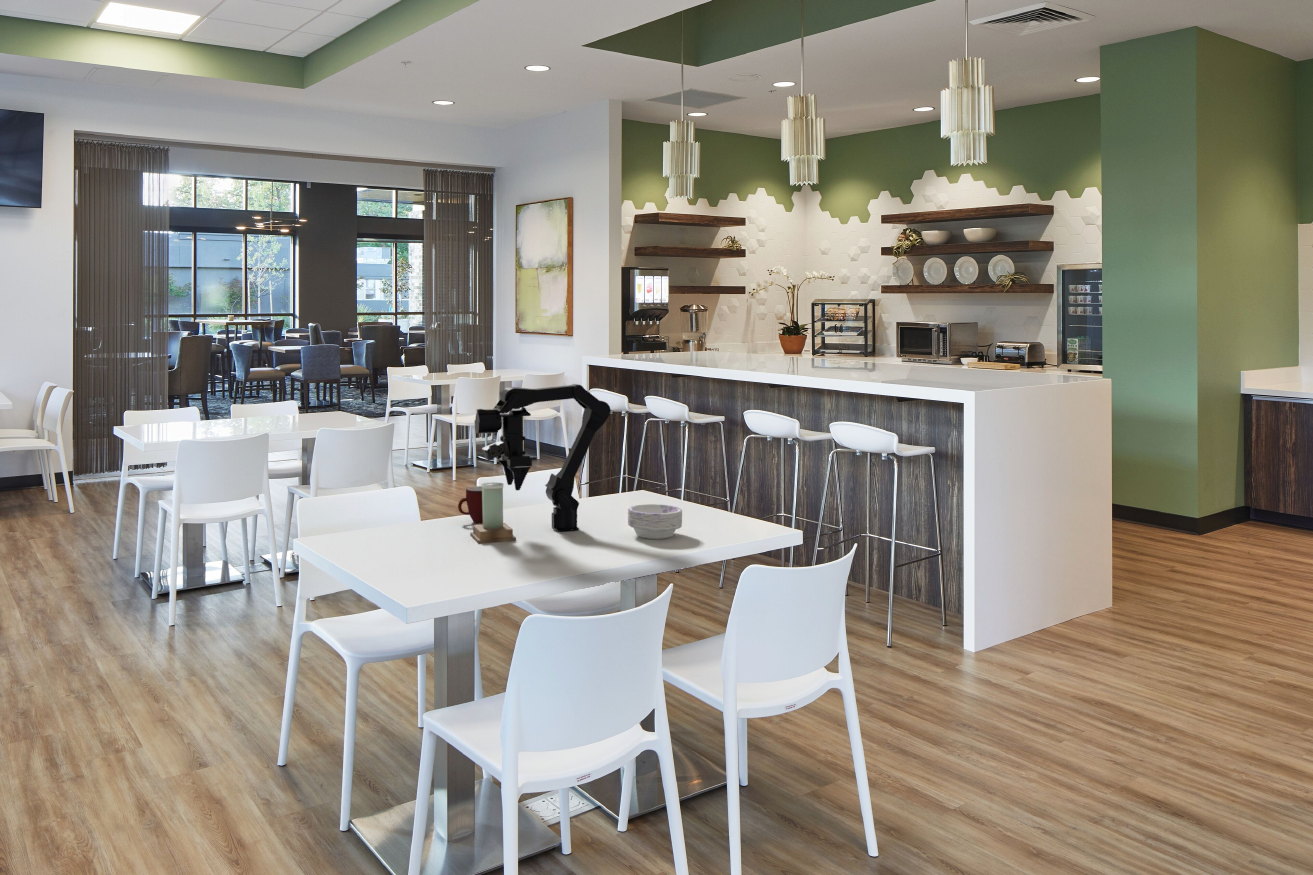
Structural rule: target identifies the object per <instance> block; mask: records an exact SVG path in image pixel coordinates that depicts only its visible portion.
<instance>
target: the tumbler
mask: <svg viewBox="0 0 1313 875" xmlns="http://www.w3.org/2000/svg"><path fill="white" fill-rule="evenodd" d="M480 486H481V488H482V510H483V523H482V524H483V528H484V529H500V528H503V523H504V483H503V482H497V481H496V482H495V481H494V482H483V483H481V485H480Z"/></svg>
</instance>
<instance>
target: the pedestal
mask: <svg viewBox="0 0 1313 875" xmlns="http://www.w3.org/2000/svg"><path fill="white" fill-rule="evenodd" d="M472 528H473V529H472V531H471V532H470V537H471V538H472V539H473V540H474V541H475V542H476V543H477V544H487V543H489V544H490V543H501V542H513V541H517V537H516V536H515V535H514V532H513V531H514V529H513V528H512V527H511V526H510V525H508V524H507V522H503V528H500V529H484V528H483V523H481V524H473V525H472Z"/></svg>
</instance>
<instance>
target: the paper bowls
mask: <svg viewBox="0 0 1313 875" xmlns="http://www.w3.org/2000/svg"><path fill="white" fill-rule="evenodd" d="M627 525H628V526H629V527H630V528H633V529H634V532H635V535H637V536H638V537H639V538H643V539H646V538H647V539H648V540H665V539H669V538H671V537H673V536H674V534H675V533H676V530H678V529H681V528H682V526H683V509H682V508H681V507H679V506H674V505H671V504H661V503H660V504H659V503H658V504H657V503H656V504H655V503H647V504H646V503H644V504H642V503H641V504H636V505H635V504H634V505H631V506H629V507H628V508H627ZM647 539H646V540H647Z"/></svg>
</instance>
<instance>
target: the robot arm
mask: <svg viewBox="0 0 1313 875" xmlns="http://www.w3.org/2000/svg"><path fill="white" fill-rule="evenodd" d="M571 399H573V400H575V402H577V404H578V405H579V406H580V407H582V409H584V410H583V413H582V417H581V426H580V429H579V431H578V433H577V436H576V437H575V439H574V441H573V444H572V445H571V447H570V449H569V452H568V454H567V456H566V458H565V460H564V462H563V464H562V467H561V469H560V470H559V471H558V472H557V474H554V473H551V474H550V476H549V480H548V481H547V483H546V484H544V486H545V487H546V488H545V494H546V497H547V499H548V500H550V501H551V503H552V505H553V506H554V507H552V508H553V509H552V513H551V529H553V530H554V531H556V532H566V531H567V532H568V531H578V530H580V527H579V526H578V509H579V505H580V502H579V501H578V500H577V499H576V498H574V496H572V494H573V492H574V489H575V488H574V486H575V480H576V479H575V478H576V475H577V473H578V471H579V469H580V467H581V465H582V463H583V461H584V458H585V456H586V454H587V452H588V450H589V447H590V446H591V443H592V441H593V439H594V437H595V434H596V433H597V432H598V431H599V430H600V429H601V428H602V427H604V424H605V423H606V422H607V420H608V419H609V418H610V416H611V413H612V410H611V406H610V405H609V403H607V402H606V401H605V400H604V401H603V400H600V399H598V398H597V397H596V396H595V395H593V394H592V393H591V392H589V391H588V390H586V389H585V388H584V386H583V385H581V384H577V383H573V384H572V383H571V384H569V385H559V386H549V387H539V388H526V387H516V386H507V387H506V388H504V389H503V390H502V391H501V393H500V399H499V400H498V401H497V403H496V404H495V406H494V407H493V408H491V409H490V408H489V409H488V408H487V409H485V408H477V409H476V414H475V418H474V430H475V433H476V434H480V435H481V434H483V435H484V434H498V432H499V431H500V430H502V435H500V436H499V441H496V442H493V443H491V444H489V445H486V446H483V447H482V448H481V450H482V452H483V456H484V458H485V460H487V461H492V460H494V459H496V461H497V462H498V463H499V464H500V465H501V466H502V468H503V471H504V476H505V479H506V483H507V485H508V486H512V485H513V483H514V489H515V491H520V490H521V488H522V486H523V484H524V481H525V479H526V477H527V475H528V473H529V471H530V469H531V467H533V458H532V457H531V456H530V455H528V454H526V450H524V444H525V443H524V441H526V436H525V435H524V417H530V416H531V412H529V411H528V410H527V408H526V407H527V406H532V405H533V404H537V403H543V402H553V401H562V400H563V401H564V400H571Z"/></svg>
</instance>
